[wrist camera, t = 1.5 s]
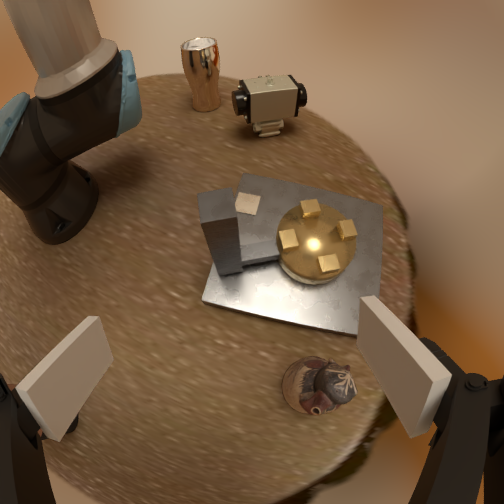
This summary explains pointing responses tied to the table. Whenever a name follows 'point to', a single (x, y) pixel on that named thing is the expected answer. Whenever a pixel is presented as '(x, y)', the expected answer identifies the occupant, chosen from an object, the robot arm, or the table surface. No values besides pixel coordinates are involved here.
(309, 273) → the metal fixture
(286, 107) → the pneumatic valve
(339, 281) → the base plate
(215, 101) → the beer glass
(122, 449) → the table surface
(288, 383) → the figurine
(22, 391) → the robot arm
